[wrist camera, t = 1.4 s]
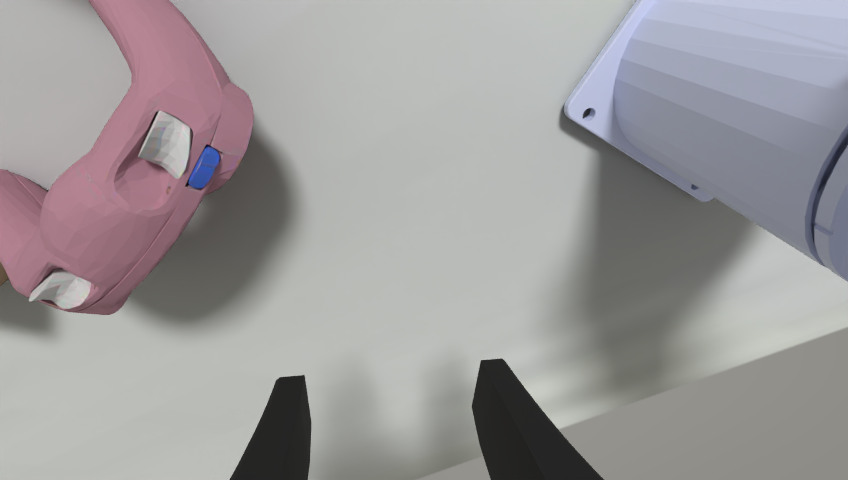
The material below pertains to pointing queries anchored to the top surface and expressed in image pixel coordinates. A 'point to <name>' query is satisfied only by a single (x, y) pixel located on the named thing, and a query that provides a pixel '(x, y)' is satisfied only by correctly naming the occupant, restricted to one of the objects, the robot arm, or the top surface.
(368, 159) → the top surface
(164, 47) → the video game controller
